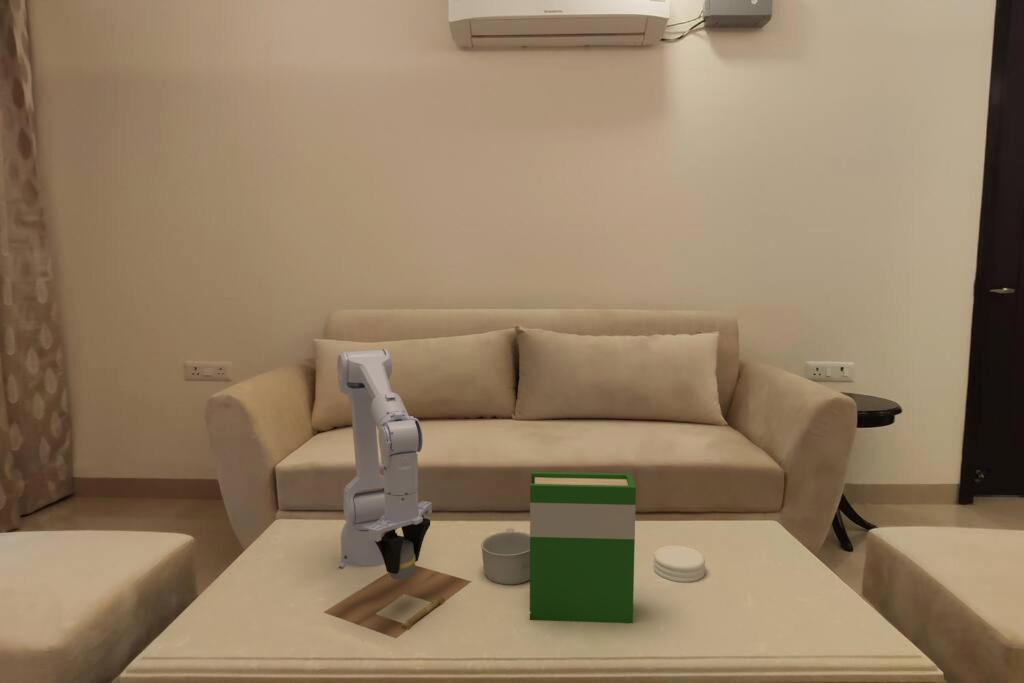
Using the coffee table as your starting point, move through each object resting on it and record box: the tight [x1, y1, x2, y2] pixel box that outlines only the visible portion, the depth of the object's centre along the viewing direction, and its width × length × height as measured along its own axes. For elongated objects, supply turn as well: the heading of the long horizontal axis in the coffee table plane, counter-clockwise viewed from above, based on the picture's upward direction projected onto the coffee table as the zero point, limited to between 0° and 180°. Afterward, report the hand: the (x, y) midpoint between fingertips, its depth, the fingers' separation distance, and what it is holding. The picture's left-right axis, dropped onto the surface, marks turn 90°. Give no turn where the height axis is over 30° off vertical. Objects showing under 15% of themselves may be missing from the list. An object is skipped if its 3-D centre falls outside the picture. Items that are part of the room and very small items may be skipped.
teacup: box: [480, 527, 530, 586], centre depth 128 cm, size 14×11×8 cm
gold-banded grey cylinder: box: [390, 540, 416, 580], centre depth 113 cm, size 5×5×5 cm
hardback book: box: [529, 471, 637, 624], centre depth 115 cm, size 18×7×24 cm, turn 87°
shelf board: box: [323, 564, 472, 639], centre depth 118 cm, size 16×22×2 cm
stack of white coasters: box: [653, 545, 706, 583], centre depth 131 cm, size 10×10×4 cm
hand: (402, 566), depth 113 cm, fingers closed on gold-banded grey cylinder, 5 cm apart
